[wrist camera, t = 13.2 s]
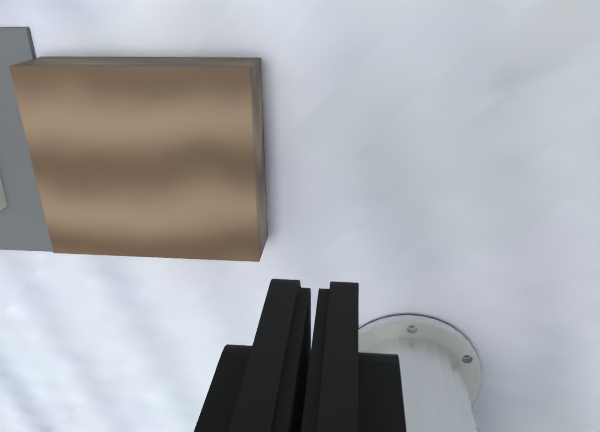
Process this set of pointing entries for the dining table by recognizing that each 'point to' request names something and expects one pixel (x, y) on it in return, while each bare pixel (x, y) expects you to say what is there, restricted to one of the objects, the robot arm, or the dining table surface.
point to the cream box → (2, 197)
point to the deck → (147, 154)
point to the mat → (18, 156)
